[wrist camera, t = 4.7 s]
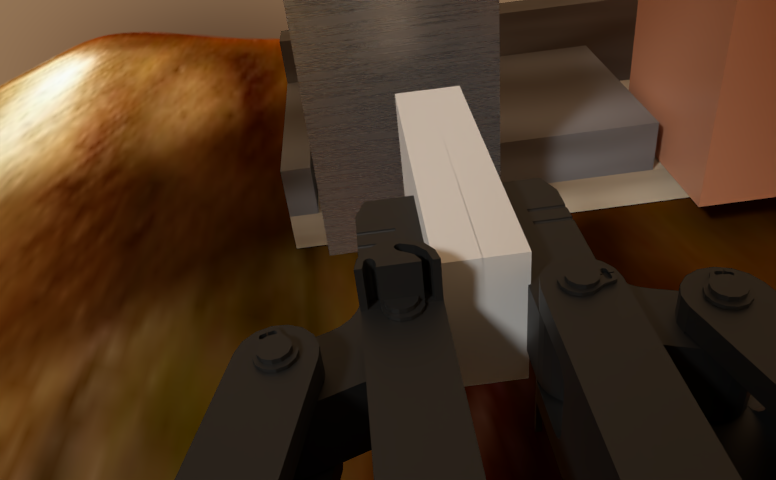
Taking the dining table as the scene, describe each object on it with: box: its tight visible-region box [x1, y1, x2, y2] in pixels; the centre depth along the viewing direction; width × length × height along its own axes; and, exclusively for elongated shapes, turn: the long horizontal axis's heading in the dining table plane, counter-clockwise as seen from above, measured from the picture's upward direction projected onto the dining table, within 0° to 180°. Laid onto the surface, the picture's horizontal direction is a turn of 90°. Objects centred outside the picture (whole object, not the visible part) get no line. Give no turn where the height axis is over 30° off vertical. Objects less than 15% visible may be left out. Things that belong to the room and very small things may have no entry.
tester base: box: [280, 0, 690, 249], centre depth 30 cm, size 10×22×6 cm, turn 95°
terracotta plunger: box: [629, 0, 776, 207], centre depth 25 cm, size 7×6×9 cm
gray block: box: [283, 0, 500, 255], centre depth 24 cm, size 7×6×9 cm
